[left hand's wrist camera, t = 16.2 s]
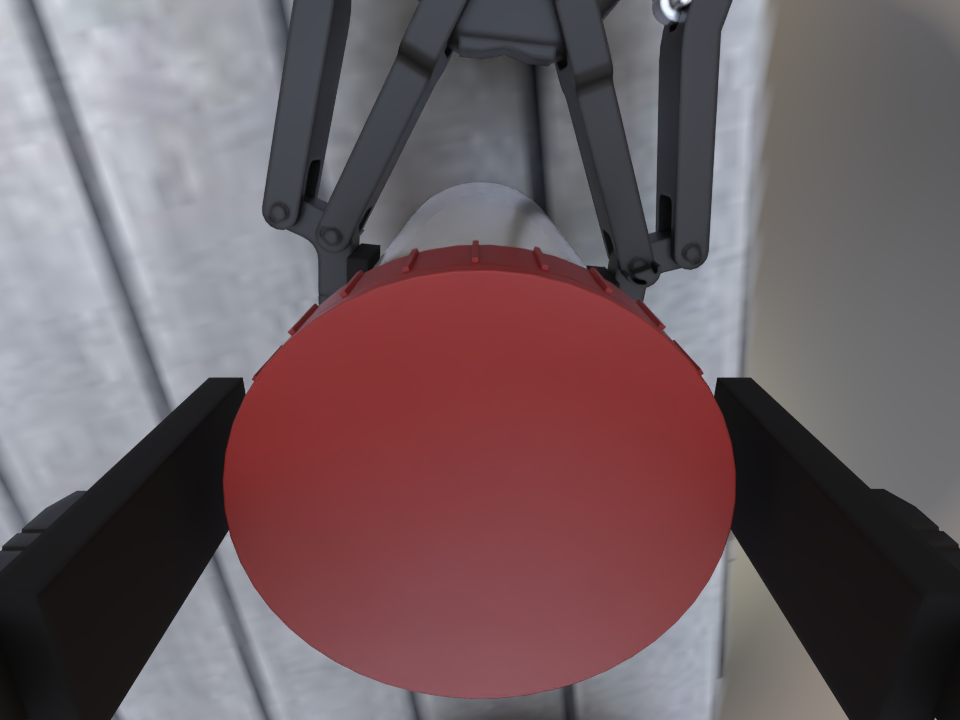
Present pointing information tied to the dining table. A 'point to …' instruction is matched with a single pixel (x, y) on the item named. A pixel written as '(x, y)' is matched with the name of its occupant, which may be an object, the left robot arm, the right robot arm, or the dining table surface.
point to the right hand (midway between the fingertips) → (468, 415)
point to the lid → (479, 475)
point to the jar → (479, 223)
